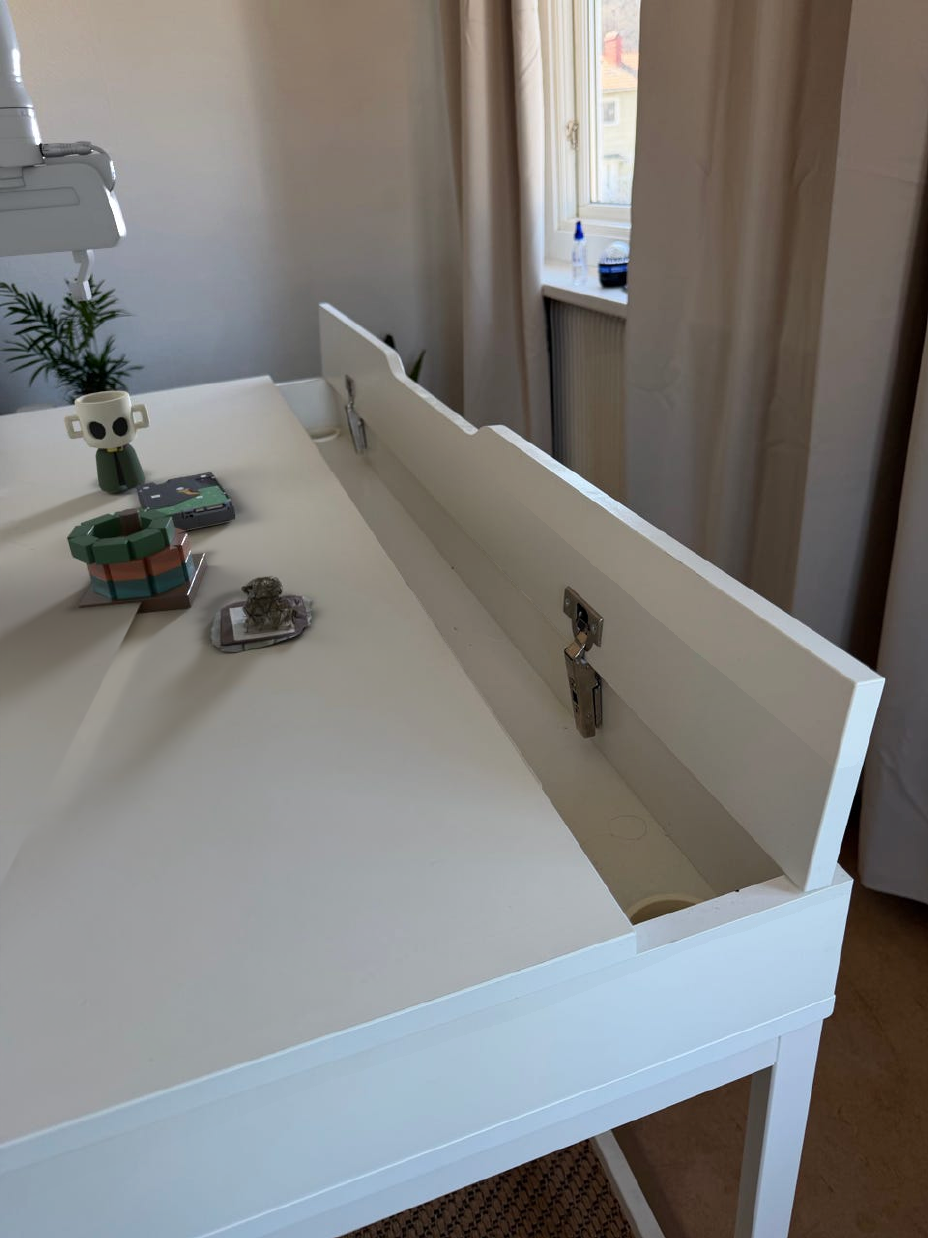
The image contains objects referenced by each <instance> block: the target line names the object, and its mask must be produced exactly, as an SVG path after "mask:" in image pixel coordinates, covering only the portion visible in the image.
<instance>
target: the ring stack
mask: <svg viewBox="0 0 928 1238" xmlns="http://www.w3.org/2000/svg"><path fill="white" fill-rule="evenodd" d="M120 511H121V512H119V518H120V522H121V526H122V530H123V534H124V535H118V536H115V537H126V536H129V535H131V534H134V533H137V532H139V531H142V530H143V526H142V522H141V518H140V514H139V509H138V508H126V509H123V510H120ZM174 529H175V533H176V534H175V536H174V538H173V540H172V542H171V544H170V546H165V548H166V549H163V550H161V551H159V552H156V553H154V554H151V555H149V556H146V557H144V558H141V559H139V560H137V559H134V558H132V559H131V561H130V562H122V563H112V564H102V565H96V562H95V563H93V564H88V563H85V564H86V567H87V571H88V574H89V578H90V581H91V585H90V586H89V588H88V589H87V592H86V593H85V594H84V596H83V598H82V600H81V601H80V603H79V604H78V608H79V609H83V608H93V607H103V606H104V607H105V606H111V605H112V606H113V605H114V606H115V605H122V604H132V603H140V605H139V606H138V608H137V611H136V614H140V613H150V612H161V611H162V612H163V611H171V610H179V609H181V610H182V609H190V608H192V606H193V603H194V600H195V597H196V595H197V593H198V590H199V587H200V584H201V583H202V580H203V577H204V575H205V571H206V569H207V567H208V562H207V557H206V553H205V552H201V553H192V550H191V549H192V548H191V545H190V540H189V535H188V533H187V532H186V531H185V530H181V529H178V528H175V527H174ZM115 537H112V538H115Z"/></svg>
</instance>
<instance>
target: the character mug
mask: <svg viewBox="0 0 928 1238" xmlns="http://www.w3.org/2000/svg"><path fill="white" fill-rule="evenodd" d="M74 407H75V411H76V413H71V414H67V415H65V416H63V424H64V427H65V430H66V435H67V437H68V438H69V439H71V440H78V439H82V438H83V441H84V442H85V443H86V445H87V446H88V447H90V448H96V451H95V464H96V474H97V475H96V476H97V482H98V487H99V488H100V490H101V491H102V492H103V491H104V492H108V493H113V492H115V493H116V492H121V490H122V489H121V487H123V486H125V487H126V490H128V491H129V490H132V489H136V485H141V484H145V482H146V475H145V473H144V470H143V467H142V464H141V462H140V459H139V457H138V454H137V452H136V450H135V448H134V447H133V445H132V444H130V443H131V442H134V441H135V440H136V439H137V438H138V432H139V431H138V430H140V429H147V428H149V427H150V426H151V420H150V415H149V412H148V407H147V405H146V404H145V403H141V404H132V401H131V396H130V394H129V392H128V391H125V390H105V391H98V392H92V393H88V394H85V395H82V396H80V397H76V399H75V400H74ZM138 412H139V413H140V417H141V420H140V421H136V418H135V414H134V413H138ZM74 422H79V426H80V429H81V430H76V431H75V429H74V424H73V423H74Z"/></svg>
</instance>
